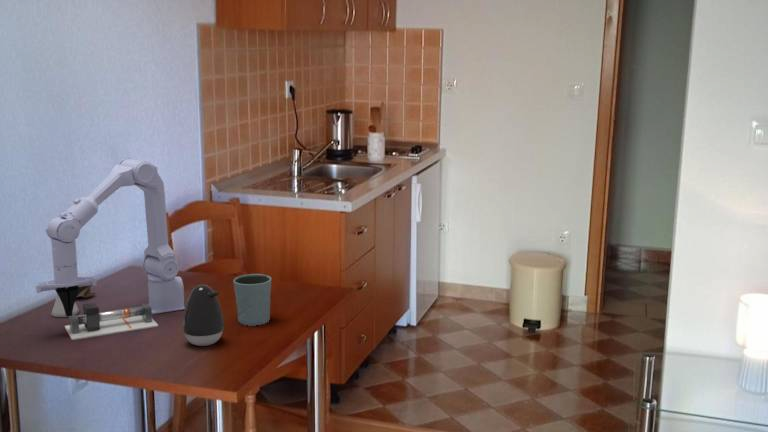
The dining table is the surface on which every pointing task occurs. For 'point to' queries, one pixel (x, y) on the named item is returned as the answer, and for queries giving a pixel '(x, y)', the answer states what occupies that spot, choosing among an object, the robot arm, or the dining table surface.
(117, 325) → the base board
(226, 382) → the dining table surface
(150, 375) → the dining table surface
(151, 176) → the robot arm
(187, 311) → the dark grey penguin toy
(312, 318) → the dining table surface
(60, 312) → the flask
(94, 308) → the dark grey sliding block
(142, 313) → the linear slide rail
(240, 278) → the grey-green cup
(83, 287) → the mushroom
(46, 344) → the dining table surface
